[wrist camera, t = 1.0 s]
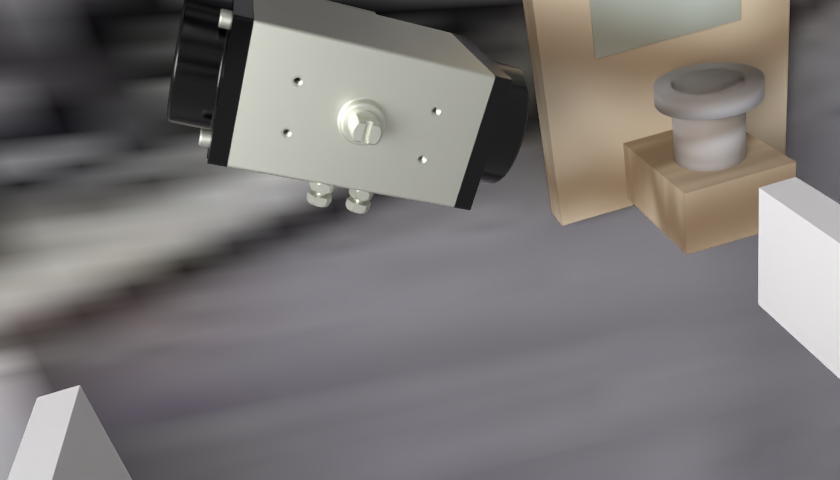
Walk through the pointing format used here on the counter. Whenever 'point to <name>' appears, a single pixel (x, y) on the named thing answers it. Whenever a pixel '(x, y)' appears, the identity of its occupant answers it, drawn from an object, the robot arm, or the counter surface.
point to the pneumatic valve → (345, 100)
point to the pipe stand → (662, 110)
